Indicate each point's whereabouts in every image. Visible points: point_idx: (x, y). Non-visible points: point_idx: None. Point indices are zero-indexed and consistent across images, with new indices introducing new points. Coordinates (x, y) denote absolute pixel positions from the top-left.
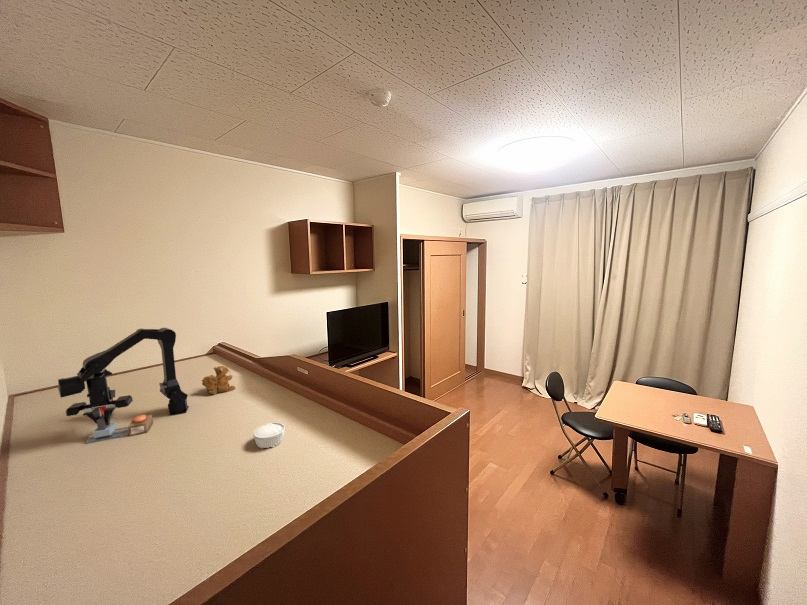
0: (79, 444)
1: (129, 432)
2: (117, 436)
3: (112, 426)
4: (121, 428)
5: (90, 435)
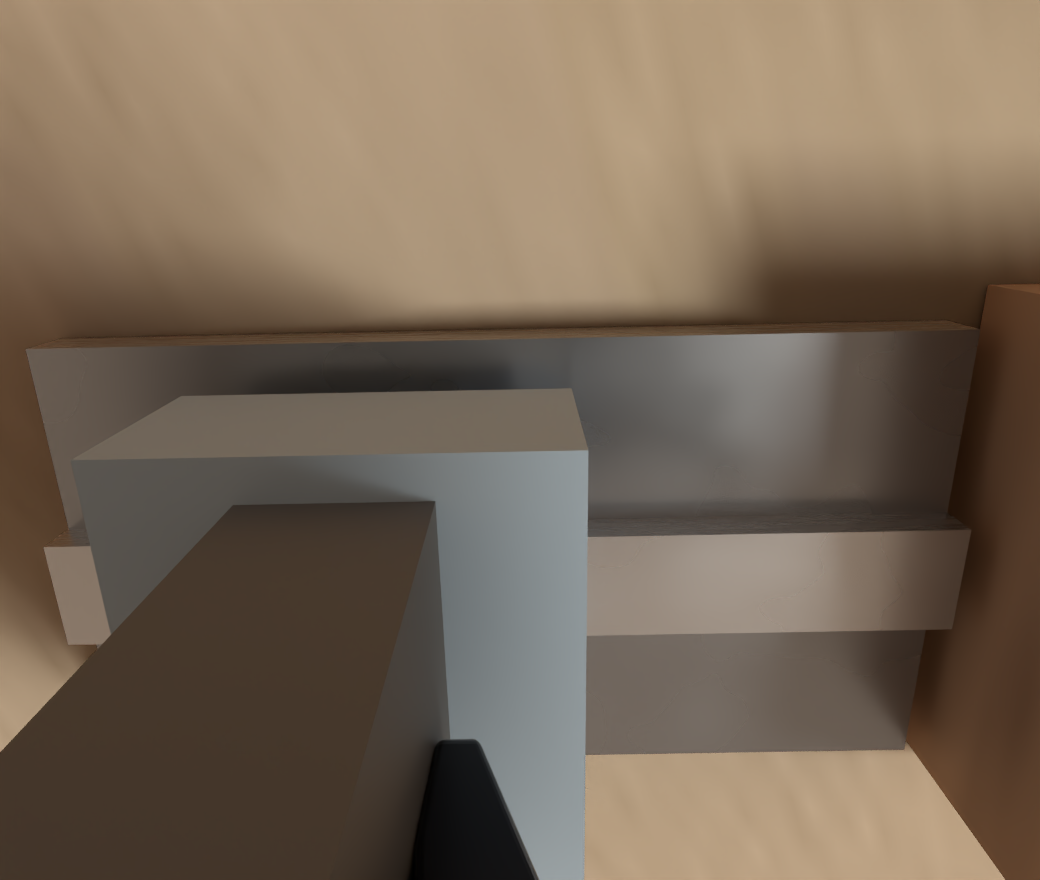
0: (16, 690)
1: (975, 806)
2: (707, 748)
3: (585, 690)
4: (686, 371)
5: (59, 572)
